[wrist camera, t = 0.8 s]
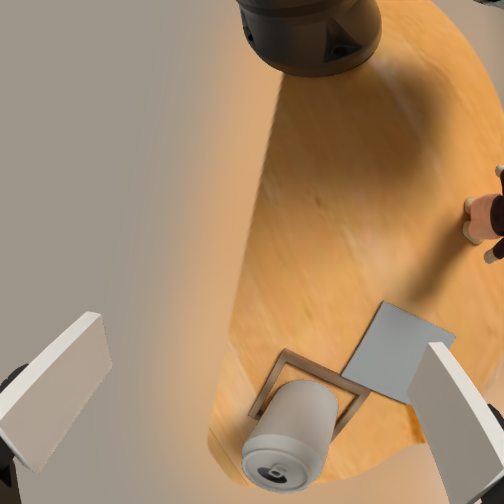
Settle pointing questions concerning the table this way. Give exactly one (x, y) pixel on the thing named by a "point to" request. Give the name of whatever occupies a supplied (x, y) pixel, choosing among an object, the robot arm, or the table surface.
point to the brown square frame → (320, 372)
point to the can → (291, 438)
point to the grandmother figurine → (487, 220)
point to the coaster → (393, 351)
